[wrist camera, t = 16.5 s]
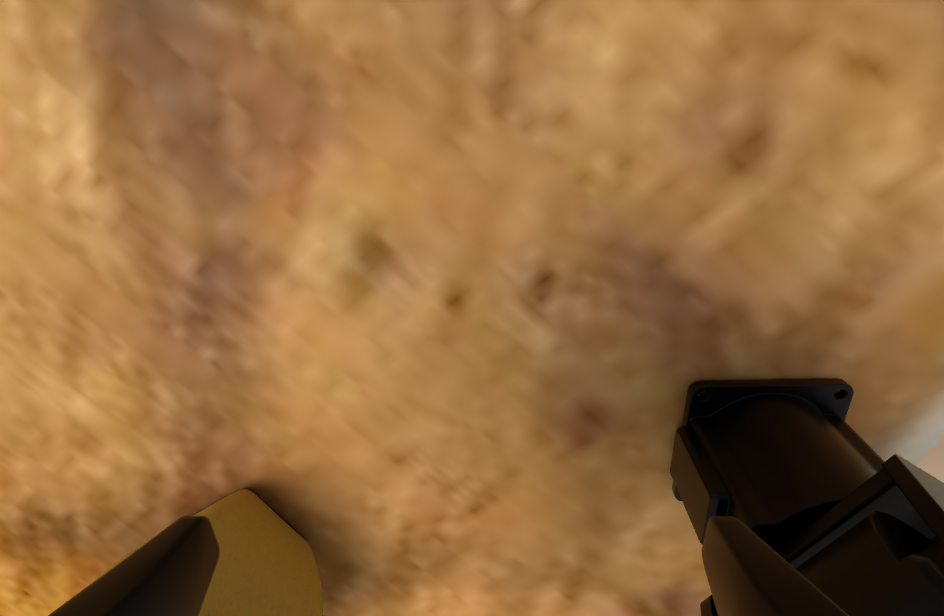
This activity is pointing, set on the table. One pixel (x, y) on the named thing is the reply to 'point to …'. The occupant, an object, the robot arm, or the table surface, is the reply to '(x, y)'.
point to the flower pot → (258, 563)
